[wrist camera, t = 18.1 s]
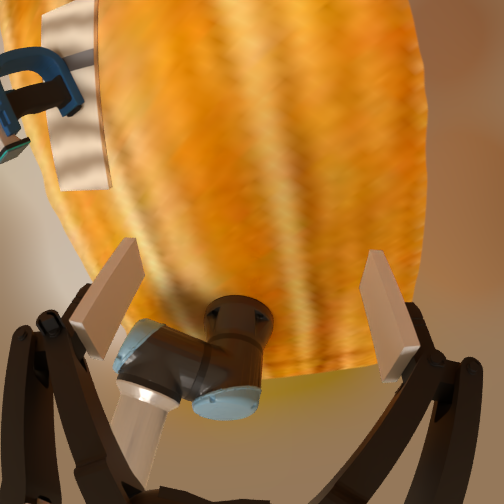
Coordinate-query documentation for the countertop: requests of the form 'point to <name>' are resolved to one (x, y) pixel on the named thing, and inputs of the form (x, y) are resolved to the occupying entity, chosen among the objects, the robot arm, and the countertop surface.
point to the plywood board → (87, 80)
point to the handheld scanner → (33, 94)
